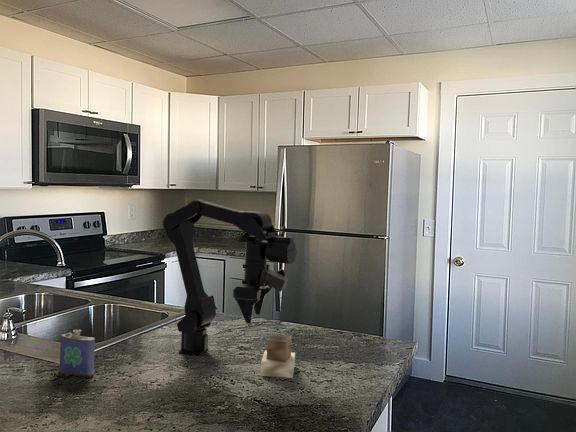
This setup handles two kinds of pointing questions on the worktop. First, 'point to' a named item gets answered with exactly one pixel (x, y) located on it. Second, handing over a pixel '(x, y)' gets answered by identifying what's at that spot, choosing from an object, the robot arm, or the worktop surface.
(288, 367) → the beech block
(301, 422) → the worktop surface
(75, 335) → the flask
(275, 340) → the walnut cube
